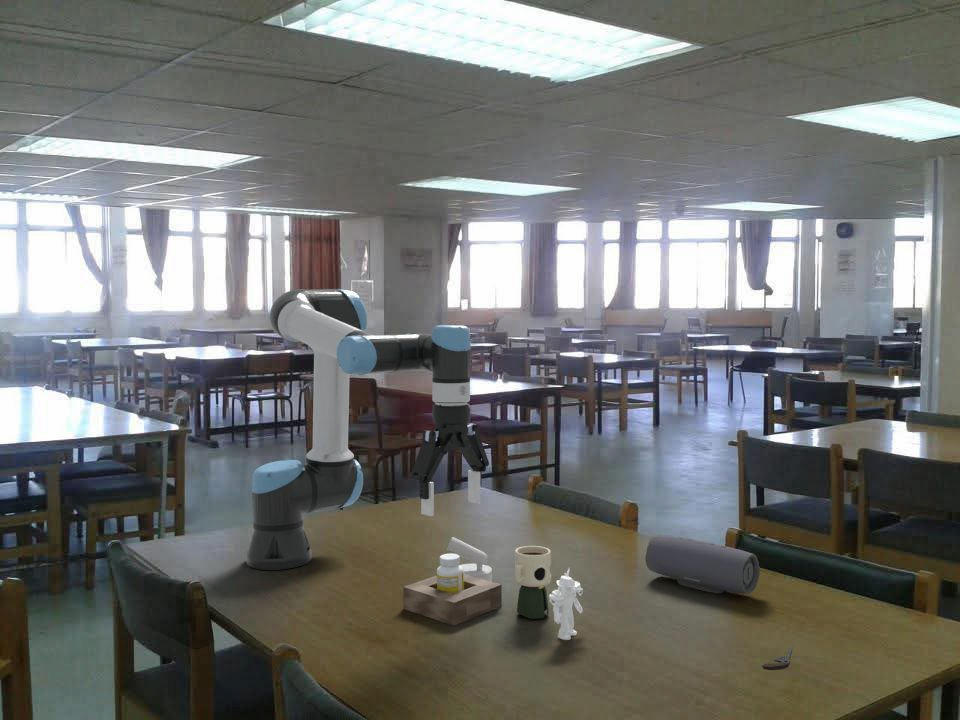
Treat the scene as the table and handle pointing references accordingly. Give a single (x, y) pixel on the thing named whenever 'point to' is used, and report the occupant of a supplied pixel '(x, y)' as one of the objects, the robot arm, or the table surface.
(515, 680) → the table surface
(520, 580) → the character mug
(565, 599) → the hat wearing toy figure
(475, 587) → the well block
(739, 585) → the bluetooth speaker
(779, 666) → the knife
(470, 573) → the white tilted tube stand
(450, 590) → the supplement bottle
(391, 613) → the table surface
